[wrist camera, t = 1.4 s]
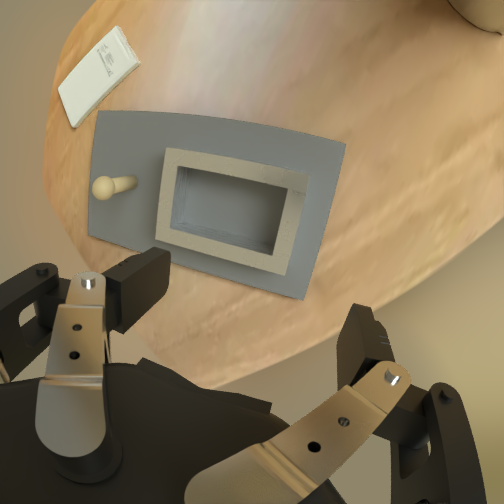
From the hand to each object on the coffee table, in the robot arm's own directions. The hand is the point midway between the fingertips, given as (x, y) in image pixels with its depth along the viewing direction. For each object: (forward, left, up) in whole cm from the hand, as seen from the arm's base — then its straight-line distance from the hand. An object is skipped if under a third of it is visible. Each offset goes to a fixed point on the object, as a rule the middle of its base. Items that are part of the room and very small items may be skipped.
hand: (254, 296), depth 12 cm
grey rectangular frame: (+6, 0, -16) cm, 17 cm away
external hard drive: (+28, -13, -18) cm, 35 cm away
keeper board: (+11, 0, -17) cm, 20 cm away
